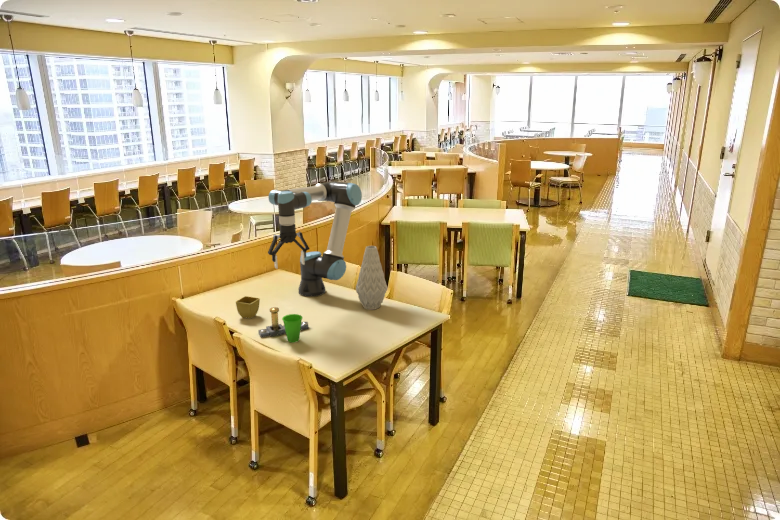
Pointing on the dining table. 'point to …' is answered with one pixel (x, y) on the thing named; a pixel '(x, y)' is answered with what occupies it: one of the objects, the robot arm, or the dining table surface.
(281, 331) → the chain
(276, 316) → the brass pin
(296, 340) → the cup
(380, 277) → the vase
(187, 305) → the dining table surface
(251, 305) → the flower pot
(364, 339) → the dining table surface
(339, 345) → the dining table surface
